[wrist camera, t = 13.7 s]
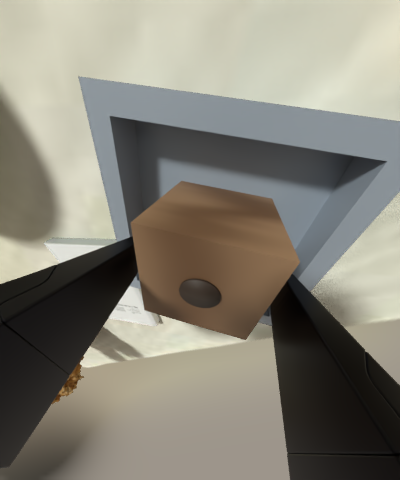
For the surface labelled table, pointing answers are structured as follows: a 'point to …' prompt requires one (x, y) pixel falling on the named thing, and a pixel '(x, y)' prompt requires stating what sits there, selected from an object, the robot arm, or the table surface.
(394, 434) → the robot arm
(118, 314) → the external hard drive
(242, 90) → the table surface
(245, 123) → the tray
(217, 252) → the block
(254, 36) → the table surface
